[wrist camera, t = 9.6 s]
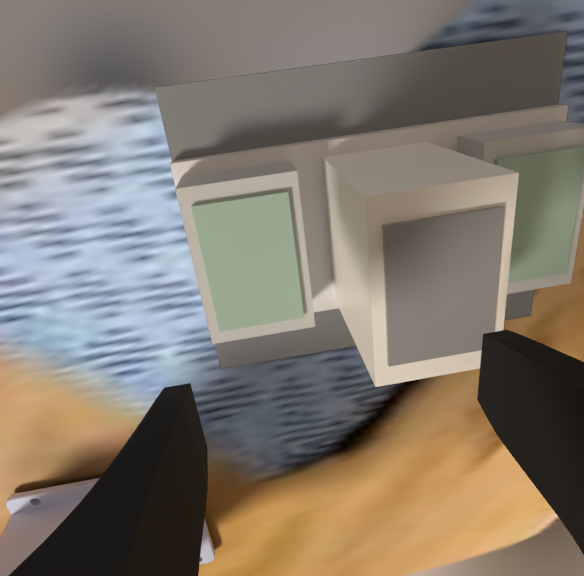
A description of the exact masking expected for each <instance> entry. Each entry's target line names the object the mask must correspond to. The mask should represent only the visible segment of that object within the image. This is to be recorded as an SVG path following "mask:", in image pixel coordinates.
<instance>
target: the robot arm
mask: <svg viewBox="0 0 584 576" xmlns="http://www.w3.org/2000/svg"><path fill="white" fill-rule="evenodd" d="M477 400H478V402H479V403H480V405H481V407H482V409H483V411H484V413H485V415H486V416H487V418H488V420H489V422H490V423H491V425H492V427H493V429H494V430H495V432H496V434H497V435H498V437H499V438H500V439H501V441H502V442H503V444H504V445H505V446H506V448H507V449H508V450H509V452H510V453H511V454H512V456H513V457H514V458H515V460H516V461H517V462H518V464H519V465H520V466H521V468H522V469H523V470H524V472H525V473H526V474H527V476H528V477H529V478H530V480H531V481H532V482H533V484H534V485H535V486H536V488H537V489H538V490H539V492H540V493H541V494H542V495H543V497H544V498H545V499H546V501H547V502H548V503H549V505H550V506H551V507H552V509H553V510H554V511H555V513H556V514H557V515H558V517H559V518H560V519H561V521H562V522H563V524H564V525H565V527H566V528H567V529H568V531H569V532H570V534H571V535H572V536H573V538H574V540H575V541H576V543H577V545H578V546H579V548H580V549H581V551H582V553H583V554H584V362H582V361H580V360H577V359H575V358H573V357H571V356H568V355H566V354H564V353H561V352H559V351H557V350H555V349H552V348H550V347H548V346H546V345H543V344H541V343H539V342H536V341H534V340H532V339H529V338H527V337H525V336H522V335H520V334H517V333H514V332H512V331H509V330H503V331H497V332H491V333H485V334H483V339H482V351H481V363H480V375H479V387H478V399H477ZM207 489H208V466H207V445H206V441H205V438H204V434H203V430H202V426H201V422H200V419H199V415H198V411H197V407H196V403H195V400H194V396H193V392H192V388H191V384H190V383H189V384H184V385H178V386H172V387H166V388H164V389H163V390H162V392H161V393H160V394H159V396H158V397H157V399H156V400H155V402H154V403H153V405H152V406H151V408H150V409H149V411H148V412H147V414H146V415H145V417H144V418H143V420H142V421H141V423H140V424H139V426H138V427H137V428H136V430H135V431H134V433H133V434H132V436H131V437H130V438H129V440H128V441H127V443H126V444H125V445H124V447H123V448H122V450H121V451H120V452H119V454H118V455H117V456H116V458H115V459H114V461H113V462H112V463H111V464H110V466H109V467H108V468H107V469H106V471H105V472H104V473H103V475H102V476H101V477H100V478H97V479H91V480H86V481H80V482H75V483H69V484H64V485H58V486H53V487H48V488H42V489H37V490H31V491H26V492H20V493H15V494H12V495H11V496H10V497H9V498H8V500H7V502H6V506H7V508H8V510H9V512H10V513H11V516H10V518H9V520H8V522H7V524H6V526H5V528H4V530H3V532H2V534H1V536H0V576H198V571H199V564H204V563H209V562H211V561H212V560H214V558H215V550H214V546H213V543H212V540H211V537H210V534H209V530H208V527H207V524H206V521H205V508H206V499H207Z"/></svg>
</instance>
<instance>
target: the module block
mask: <svg viewBox="0 0 584 576" xmlns="http://www.w3.org/2000/svg"><path fill="white" fill-rule="evenodd" d="M322 161H323V172H324V182H325V193H326V204H327V215H328V226H329V237H330V248H331V259H332V270H333V280H334V291H335V300H336V303H337V305H338V307H339V309H340V311H341V313H342V316H343V318H344V320H345V322H346V324H347V326H348V329H349V331H350V333H351V335H352V337H353V339H354V342H355V344H356V346H357V348H358V350H359V352H360V355H361V357H362V359H363V361H364V363H365V365H366V368H367V370H368V372H369V374H370V376H371V378H372V381H373V383H374V385H375V387H379V386H385V385H390V384H396V383H401V382H407V381H413V380H418V379H424V378H429V377H435V376H440V375H446V374H452V373H457V372H463V371H468V370H474V369H479V368H480V363H481V351H482V339H483V334H485V333H491V332H497V331H503V329H504V319H505V308H506V298H507V288H508V278H509V268H510V258H511V248H512V238H513V228H514V218H515V208H516V198H517V187H518V177H519V173H518V172H515V171H512V170H509V169H506V168H503V167H500V166H497V165H494V164H491V163H488V162H485V161H482V160H479V159H476V158H473V157H470V156H467V155H464V154H461V153H458V152H456V151H453V150H450V149H447V148H444V147H441V146H438V145H435V144H432V143H429V142H423V143H416V144H409V145H403V146H396V147H389V148H383V149H376V150H369V151H363V152H356V153H349V154H343V155H336V156H329V157H323V158H322Z"/></svg>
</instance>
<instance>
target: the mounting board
mask: <svg viewBox="0 0 584 576" xmlns="http://www.w3.org/2000/svg"><path fill="white" fill-rule="evenodd" d="M567 32H568V31H564V32H556V33H549V34H542V35H535V36H527V37H520V38H513V39H505V40H498V41H491V42H483V43H476V44H469V45H461V46H454V47H447V48H440V49H432V50H425V51H418V52H410V53H403V54H396V55H388V56H382V57H374V58H367V59H359V60H352V61H345V62H337V63H330V64H323V65H315V66H308V67H301V68H294V69H286V70H279V71H272V72H264V73H257V74H250V75H243V76H235V77H228V78H221V79H214V80H206V81H199V82H191V83H185V84H177V85H169V86H162V87H155V91H156V95H157V100H158V104H159V108H160V112H161V116H162V121H163V125H164V129H165V133H166V138H167V142H168V146H169V150H170V155H171V159H172V162H171V163H170V166H171V170H172V174H173V179H174V183H175V187H176V188H175V190H176V194H177V198H178V202H179V207H180V211H181V215H182V219H183V223H184V228H185V232H186V236H187V240H188V244H189V248H190V253H191V257H192V261H193V265H194V269H195V274H196V278H197V282H198V286H199V290H200V294H201V299H202V303H203V307H204V311H205V315H206V319H207V324H208V328H209V332H210V336H211V340H212V344H215V345H216V349H217V354H218V358H219V362H220V366H221V369H225V368H231V367H237V366H243V365H248V364H254V363H260V362H266V361H271V360H277V359H283V358H289V357H295V356H300V355H306V354H312V353H318V352H323V351H329V350H335V349H341V348H347V347H352V346H356V344H355V342H354V339H353V337H352V335H351V333H350V331H349V329H348V326H347V324H346V322H345V320H344V318H343V316H342V313H341V311H340V309H339V307H338V305H337V303H336V300H335V291H334V280H333V270H332V259H331V248H330V237H329V226H328V215H327V204H326V193H325V182H324V172H323V161H322V158H323V157H329V156H336V155H343V154H349V153H356V152H363V151H369V150H376V149H383V148H389V147H396V146H403V145H409V144H416V143H423V142H429V143H432V144H435V145H438V146H441V147H444V148H447V149H450V150H453V151H456V152H458V153H461V154H464V155H467V156H470V157H473V158H476V159H479V160H482V161H485V162H488V163H491V164H494V165H497V166H500V167H503V168H506V169H509V170H512V171H515V172H518V173H519V177H518V187H517V198H516V208H515V218H514V228H513V238H512V248H511V258H510V268H509V278H508V288H507V298H506V308H505V319H504V320H508V319H514V318H520V317H526V316H531V309H532V301H533V294H534V289H540V288H546V287H552V286H558V285H564V284H570V283H571V280H572V274H573V268H574V262H575V256H576V250H577V244H578V238H579V232H580V226H581V221H582V215H583V209H584V124H581V123H574V122H566V119H567V112H568V105H558V101H559V93H560V85H561V78H562V70H563V62H564V55H565V47H566V39H567Z"/></svg>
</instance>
